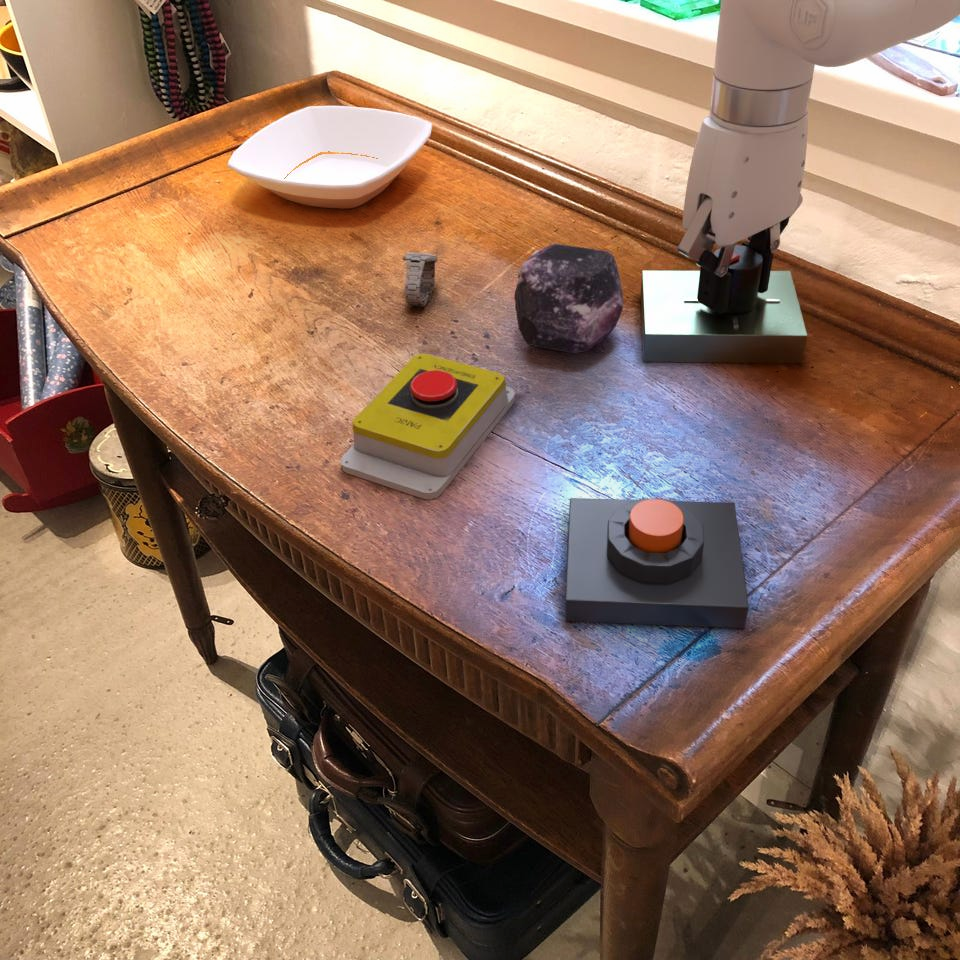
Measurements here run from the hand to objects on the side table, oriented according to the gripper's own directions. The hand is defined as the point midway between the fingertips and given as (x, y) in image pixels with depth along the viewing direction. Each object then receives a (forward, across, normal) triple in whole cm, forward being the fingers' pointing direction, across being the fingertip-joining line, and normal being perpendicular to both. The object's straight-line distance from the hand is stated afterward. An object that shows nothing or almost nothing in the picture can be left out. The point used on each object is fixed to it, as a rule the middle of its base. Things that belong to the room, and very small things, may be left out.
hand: (732, 295), depth 89 cm
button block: (+4, +27, +18) cm, 32 cm away
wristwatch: (+4, +19, -24) cm, 31 cm away
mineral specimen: (+4, +12, -8) cm, 16 cm away
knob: (+1, 0, 0) cm, 1 cm away
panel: (+4, +1, -1) cm, 4 cm away
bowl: (+4, +12, -52) cm, 54 cm away
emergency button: (+4, +30, -6) cm, 31 cm away
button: (0, +27, +18) cm, 32 cm away
